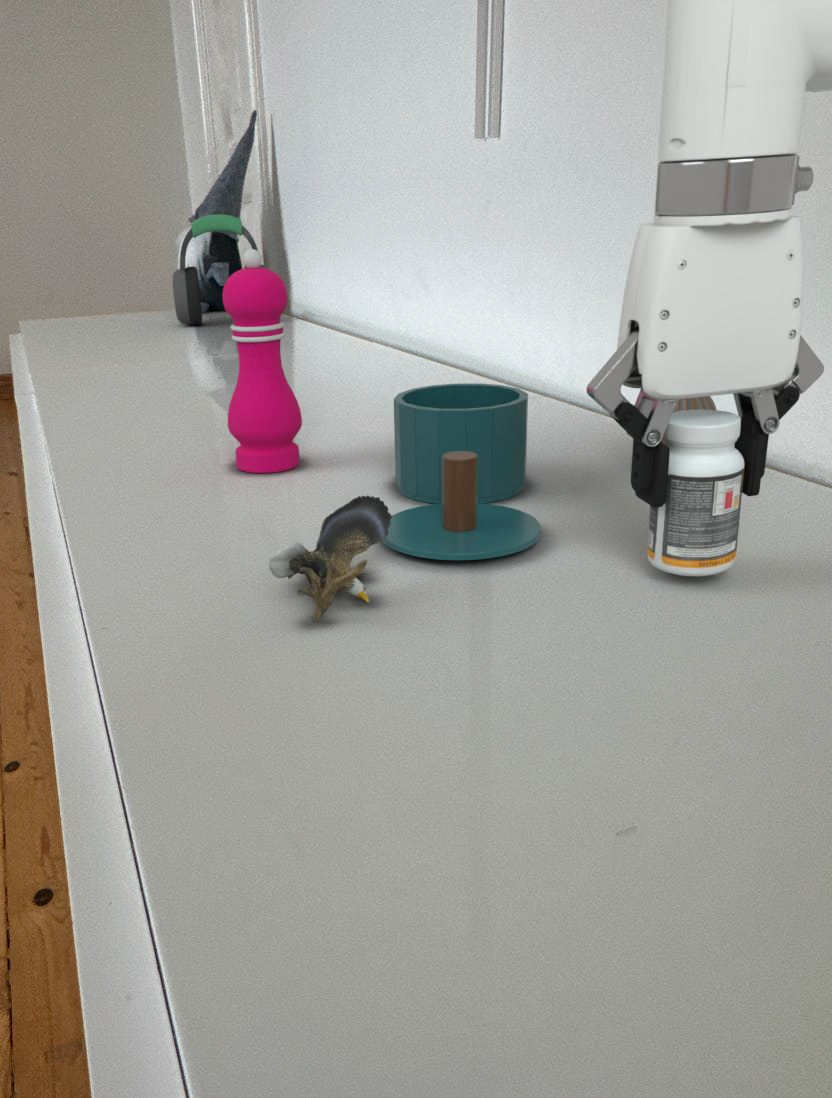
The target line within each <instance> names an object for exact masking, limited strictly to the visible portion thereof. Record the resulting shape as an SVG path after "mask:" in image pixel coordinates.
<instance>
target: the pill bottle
mask: <svg viewBox="0 0 832 1098" xmlns="http://www.w3.org/2000/svg"><path fill="white" fill-rule="evenodd" d="M740 428H741V418H740V417H739V415H738V414H736V413H734V412H730V411H726V410H725V411H724V410H685V411H678V412H673V414H672V416H671V419H670V421H669V423H668V426H667V428H666V431H665V433H664V436H663V437H664V440H665V441H666V446H668V447H669V449H670V456H669V468H668V481H667V494H666V503H665V504H663V506H662V507H656V508H653V507H652V506H650V505H649V518H648V520H649V521H648V535H647V536H648V537H647V559H648V561H649V562H650V564H651V565H652V566H653V567H654V568H656V569H658V570H660V571H662V572H665V573H668V574H672V575H677V576H682V577H708V576H714V575H718V574H721V573H724V572H726V571H728V570H729V569H730V568H732V567H733V566H734V564H735V561H736V557H737V553H738V551H737V549H738V541H739V539H738V538H739V527H740V519H741V518H740V517H741V509H742V508H741V507H742V506H741V505H742V496H743V493H742V487H743V478H744V459H743V456H742V455H741V453H740V452H739V451H738V450H737V449H735V448H734V445H735V442H736V441H737V439H738V437H739V436H740Z"/></svg>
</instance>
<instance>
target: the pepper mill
mask: <svg viewBox="0 0 832 1098" xmlns="http://www.w3.org/2000/svg"><path fill="white" fill-rule="evenodd" d="M241 259H242V263H243V266H244V267H246V268H241V269H239V270H237V271H234V272H233V273H232V274H230V276H229V277H228V278H227V279H226V281H225V283H224V285H223V288H222V303H223V307H224V310H225V312H226V313H227V314H228V315H229V316H230V318H231V319H232V320H233V323H232V324H231V325H230V330H231V333H232V335H231V340H232V341H234V342H236V349H237V353H238V375H237V381H236V384H235V387H234V390H233V393H232V395H231V399H230V402H229V404H228V411H227V428H228V431H229V433H230V434H231V436H232V437H233V438H234V439H235V440H236V441H237V442H238V444H239V446H237V448H235V451H234V452H235V453H234V454H235V464H236V468H237V469H238V470H239V471H242V472H244V473H252V474H270V473H271V474H272V473H281V472H285V471H289V470H292V469H294V468H296V467H298V466H299V464H300V446H299V445H298V444H297V443H296V442H294V439H295V438H296V437H297V435H298V434H299V432H300V430H301V428H302V426H303V418H302V411H301V407H300V404H299V402H298V399H297V397H296V395H295V393H294V391H293V389H292V387H291V386H290V384H289V382H288V380H287V378H286V375H285V372H284V368H283V363H282V356H281V343H282V342H281V341H282V339H283V338H285V336H286V334H285V332H284V327H285V322H283V321H281V317H282V315H283V313H284V311H285V310H286V308H287V305H288V302H289V300H288V298H289V297H288V296H289V295H288V290H287V287H286V284H285V282H284V281H283V279H282V277H281V276H280V275H279V274H277V273H276V272H275V271H273V270H271V269H269V268H268V269H266V268H260V265H262V263H263V258H262V255H261V253H260V252H259V250H258V251H257V250H254V249H252V248H250V249H247V250H245V252H244V253H243V254H242V258H241Z"/></svg>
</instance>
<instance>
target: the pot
mask: <svg viewBox="0 0 832 1098" xmlns="http://www.w3.org/2000/svg"><path fill="white" fill-rule="evenodd" d="M528 415H529V393H527V392H526V391H525V390H522V389H520V388H518V387H514V386H509V385H503V384H493V383H479V382H478V383H477V382H475V383H473V382H472V383H471V382H470V383H469V382H468V383H443V384H432V385H427V386H420V387H415V388H410V389H408V390H405V391H402V392H399V393H397V395H396V396H395V397H394V398H393V427H394V428H393V429H394V463H395V464H394V466H395V467H394V469H395V470H394V471H395V483H396V489H397V492H398V493H399V494H401V495H402V496H404V497H406V498H408V499H411V500H413V501H418V502H423V503H428V504H442V455H443V454H445V453H448V452H454V451H468V452H473V453H476V454H477V456H478V460H477V503H483V504H490V503H494V502H495V503H496V502H499V501H503V500H507V499H510V498H513V497H515V496H517V495H519V494H521V493H522V492H523V491H524V489H525V486H526V477H527V476H526V475H527V473H526V472H527V450H528V449H527V448H528V447H527V444H528Z"/></svg>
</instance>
